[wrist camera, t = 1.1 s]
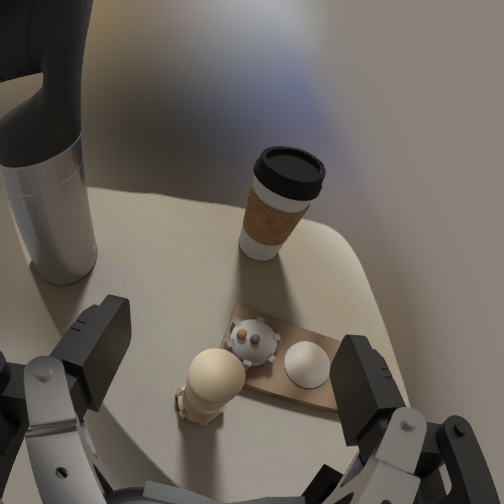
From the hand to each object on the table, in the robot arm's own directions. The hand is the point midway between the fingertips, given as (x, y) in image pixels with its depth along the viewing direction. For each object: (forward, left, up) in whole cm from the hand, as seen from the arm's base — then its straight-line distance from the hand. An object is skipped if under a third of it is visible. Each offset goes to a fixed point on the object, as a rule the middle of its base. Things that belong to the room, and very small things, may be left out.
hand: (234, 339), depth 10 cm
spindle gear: (0, +1, -20) cm, 20 cm away
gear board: (+10, +9, -20) cm, 25 cm away
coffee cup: (0, +25, -21) cm, 33 cm away
